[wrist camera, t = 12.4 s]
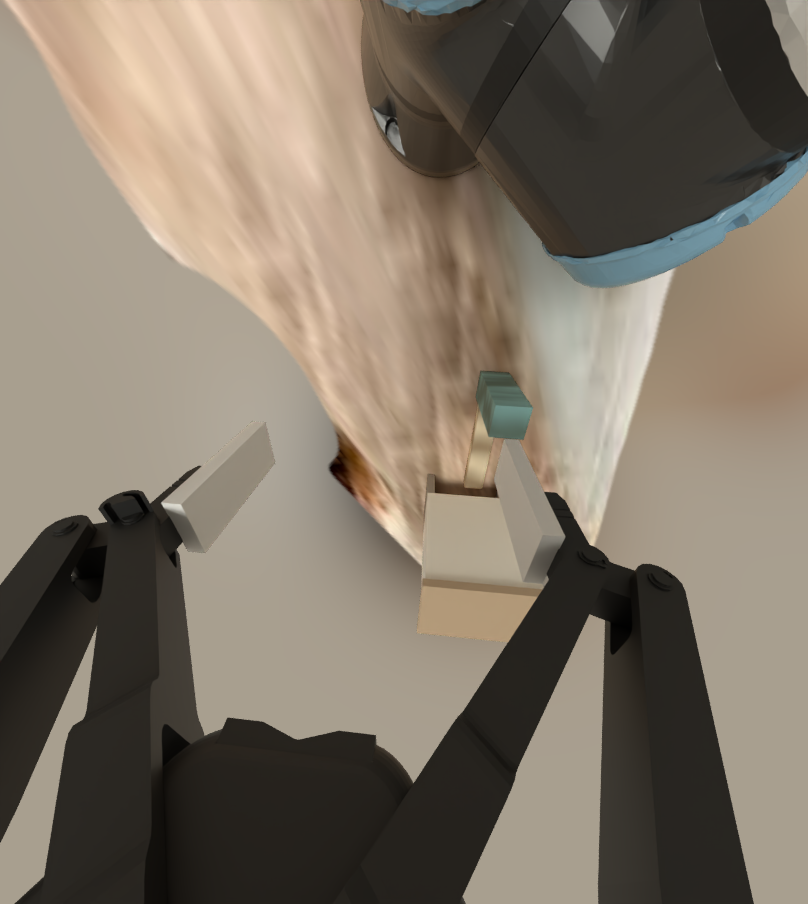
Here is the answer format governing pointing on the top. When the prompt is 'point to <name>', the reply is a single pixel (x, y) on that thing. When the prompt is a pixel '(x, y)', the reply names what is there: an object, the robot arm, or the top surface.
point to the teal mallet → (495, 421)
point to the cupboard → (470, 570)
